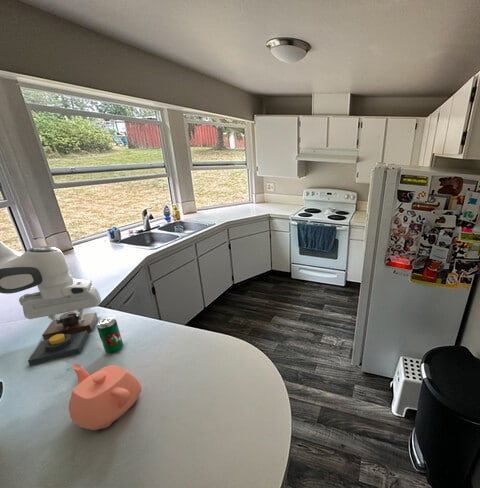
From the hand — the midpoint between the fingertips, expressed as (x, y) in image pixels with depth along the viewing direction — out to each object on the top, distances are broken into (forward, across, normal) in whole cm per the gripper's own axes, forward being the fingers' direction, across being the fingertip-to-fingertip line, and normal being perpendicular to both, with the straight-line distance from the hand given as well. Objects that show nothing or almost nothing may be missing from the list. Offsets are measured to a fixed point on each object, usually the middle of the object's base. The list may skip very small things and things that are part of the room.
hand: (70, 320), depth 95 cm
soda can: (+4, +16, -20) cm, 26 cm away
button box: (+4, 0, -12) cm, 13 cm away
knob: (+1, 0, 0) cm, 1 cm away
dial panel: (+4, 0, 0) cm, 4 cm away
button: (0, 0, -12) cm, 12 cm away
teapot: (+4, +19, -46) cm, 50 cm away
